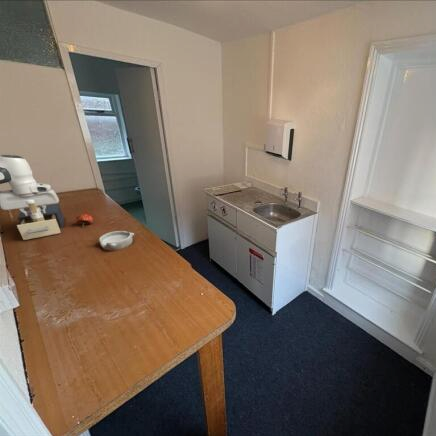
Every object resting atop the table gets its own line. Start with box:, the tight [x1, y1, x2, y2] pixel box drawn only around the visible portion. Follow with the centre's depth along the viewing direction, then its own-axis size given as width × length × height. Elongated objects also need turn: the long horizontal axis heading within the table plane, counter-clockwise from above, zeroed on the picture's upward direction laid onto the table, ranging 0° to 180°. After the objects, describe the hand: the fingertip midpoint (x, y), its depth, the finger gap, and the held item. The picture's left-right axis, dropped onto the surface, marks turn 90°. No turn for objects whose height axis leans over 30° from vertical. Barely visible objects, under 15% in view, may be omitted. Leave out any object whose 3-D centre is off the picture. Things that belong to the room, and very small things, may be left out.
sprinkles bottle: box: [26, 200, 45, 222], centre depth 119 cm, size 5×5×14 cm
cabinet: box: [17, 203, 65, 229], centre depth 131 cm, size 16×15×10 cm
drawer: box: [16, 214, 61, 241], centre depth 122 cm, size 19×14×8 cm
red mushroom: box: [75, 212, 94, 228], centre depth 134 cm, size 7×7×10 cm
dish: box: [98, 230, 135, 252], centre depth 117 cm, size 14×14×5 cm
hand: (36, 214), depth 120 cm, fingers closed on sprinkles bottle, 4 cm apart
